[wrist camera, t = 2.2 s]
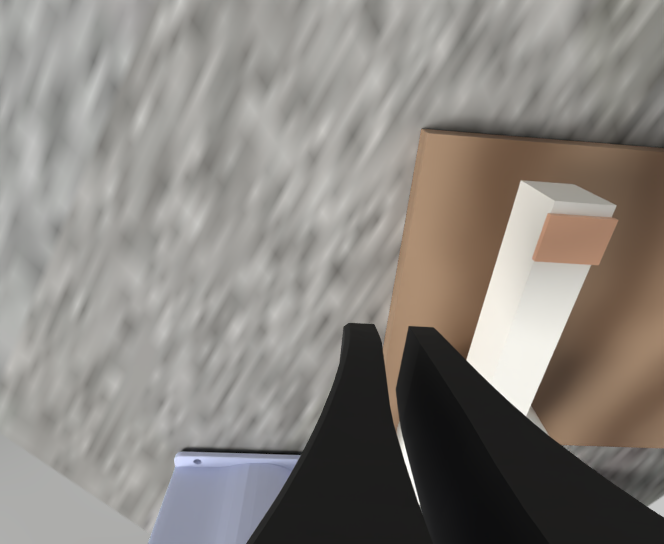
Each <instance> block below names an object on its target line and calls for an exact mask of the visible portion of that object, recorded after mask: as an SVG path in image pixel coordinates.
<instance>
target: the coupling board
mask: <svg viewBox="0 0 664 544" xmlns="http://www.w3.org/2000/svg"><path fill="white" fill-rule="evenodd" d="M521 180H523V181H537V182H551V183H564V184H574V185H576V186H578V187H581V188H583V189H585V190H587V191H589V192H591V193H593V194H595V195H597V196H599V197H601V198H603V199H605V200H607V201H609V202H611V203H613V204H615V205H617V206H616V208H615V211H614V213H613V215H612V218H616V219H618V223H617V225H616V227H615V229H614V232H613V234H612V236H611V239H610V241H609V243H608V245H607V248H606V250H605V252H604V254H603V257H602V259H601V261H600V264H599V265H591V266H590V269H589V271H588V273H587V276H586V278H585V280H584V283H583V285H582V287H581V290H580V292H579V294H578V297H577V299H576V301H575V304H574V306H573V308H572V311H571V313H570V315H569V318H568V320H567V322H566V325H565V327H564V329H563V332H562V334H561V336H560V339H559V341H558V343H557V345H556V348H555V350H554V352H553V355H552V357H551V359H550V362H549V364H548V366H547V369H546V371H545V373H544V376H543V378H542V380H541V383H540V385H539V387H538V390H537V392H536V394H535V397H534V399H533V401H532V404H531V406H532V408H533V410H534V411H535V413H536V415H537V416H538V418H539V420H540V421H541V423H542V425H543V426H544V428H545V430H546V431H547V433H548V434H549V436H550V437H551V438H552V439H554V440H555V441H556V442H558V443H559V444H560V445H579V446H609V447H638V448H664V148H656V147H643V146H631V145H618V144H606V143H593V142H581V141H568V140H556V139H543V138H531V137H519V136H506V135H494V134H481V133H469V132H456V131H444V130H431V129H421V134H420V140H419V146H418V151H417V157H416V163H415V168H414V174H413V180H412V186H411V191H410V197H409V203H408V208H407V214H406V220H405V226H404V231H403V237H402V243H401V248H400V254H399V260H398V266H397V271H396V277H395V283H394V288H393V294H392V300H391V306H390V311H389V317H388V323H387V329H386V334H385V340H384V346H383V355H384V362H385V370H386V378H387V385H388V393H389V401H390V408H391V413H392V418H393V423H394V426H395V430H396V433H397V427H398V424H399V414H398V406H397V398H396V385H397V380H398V375H399V370H400V365H401V361H402V356H403V351H404V346H405V341H406V336H407V331H408V327H409V326H419V327H434V328H435V329H436V330H437V331H438V332H439V333H440V334H441V335H442V336H443V337H444V338H445V339H446V340H447V341H448V342H449V343H450V344H451V345H452V346H453V347H454V348H455V349H456V350H457V351H458V352H459V353H460V354H461V355H462V356H463V357H464V358H465V359H466V360H467V356H468V353H469V350H470V346H471V343H472V340H473V337H474V333H475V330H476V327H477V323H478V320H479V317H480V313H481V310H482V307H483V304H484V300H485V297H486V294H487V290H488V287H489V284H490V281H491V277H492V274H493V271H494V267H495V264H496V261H497V257H498V254H499V251H500V248H501V244H502V241H503V238H504V234H505V231H506V228H507V225H508V221H509V218H510V215H511V211H512V208H513V205H514V201H515V198H516V195H517V192H518V188H519V185H520V182H521Z"/></svg>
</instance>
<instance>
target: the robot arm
mask: <svg viewBox="0 0 664 544" xmlns="http://www.w3.org/2000/svg"><path fill="white" fill-rule="evenodd" d="M396 398H397V406H398V414H399V421H400V428H401V432H402V436H403V441H404V444H405V448H406V452H407V456H408V460H409V464H410V468H411V472H412V475H413V479H414V483H415V487H416V491H417V495H418V498H419V502H420V506H421V509H420V506H419V503H418V500H417V497H416V494H415V491H414V488H413V485H412V482H411V479H410V476H409V473H408V470H407V467H406V464H405V461H404V457H403V454H402V450H401V447H400V443H399V440H398V437H397V433H396V430H395V426H394V423H393V418H392V413H391V408H390V401H389V393H388V385H387V378H386V370H385V362H384V355H383V348H382V342H381V339H380V336H379V334H378V331H377V329H376V327H375V325H374V324H360V323H348V324H347V325H345V326H344V328H343V337H342V346H341V355H340V364H339V367H338V370H337V373H336V377H335V380H334V383H333V386H332V388H331V391H330V393H329V396H328V398H327V401H326V403H325V406H324V408H323V411H322V413H321V416H320V418H319V420H318V422H317V424H316V426H315V429H314V431H313V433H312V435H311V437H310V439H309V441H308V443H307V445H306V447H305V449H304V450H303V452H302V454H301V455H281V454H249V453H216V452H184V451H183V452H179V453H177V454H176V456H175V459H174V462H175V469H174V472H173V475H172V477H171V480H170V483H169V486H168V489H167V492H166V494H165V497H164V500H163V503H162V506H161V508H160V511H159V514H158V517H157V520H156V522H155V525H154V528H153V531H152V534H151V536H150V539H149V542H148V544H664V517H662V516H661V515H659V514H657V513H656V512H654V511H653V510H651V509H649V508H648V507H647V506H645V505H644V504H642V503H641V502H639V501H638V500H636V499H635V498H633V497H632V496H631V495H629V494H628V493H626V492H625V491H623V490H622V489H620V488H619V487H617V486H616V485H614V484H613V483H611V482H610V481H608V480H607V479H606V478H604V477H603V476H602V475H600V474H599V473H597V472H596V471H595V470H593V469H592V468H590V467H589V466H588V465H586V464H585V463H584V462H582V461H581V460H580V459H578V458H577V457H576V456H575V455H573V454H572V453H571V452H569V451H568V450H567V449H565V448H564V447H563V446H562V445H560V444H559V443H558V442H556V441H555V440H554V439H552V438H551V437H550V436H549V435H548V434H546V433H545V432H544V431H543V430H541V429H540V428H539V427H538V426H537V425H535V424H534V423H533V422H532V421H531V420H530V419H528V418H527V417H526V416H525V415H524V414H523V413H522V412H520V411H519V410H518V409H517V408H516V407H515V406H514V405H512V404H511V403H510V402H509V401H508V400H507V399H506V398H505V397H504V396H503V395H502V394H500V393H499V392H498V391H497V390H496V389H495V388H494V387H493V386H492V385H491V384H490V383H489V382H488V381H487V380H486V379H485V378H484V377H483V376H482V375H481V374H480V373H479V372H478V371H477V370H476V369H475V368H474V367H473V366H472V365H471V364H470V363H469V362H468V361H467V360H466V359H465V358H464V357H463V356H462V355H461V354H460V353H459V352H458V351H457V350H456V349H455V348H454V347H453V346H452V345H451V344H450V343H449V342H448V341H447V340H446V339H445V338H444V337H443V336H442V335H441V334H440V333H439V332H438V331H437V330H436V329H435V328H434V327H419V326H409V327H408V331H407V336H406V341H405V346H404V351H403V356H402V361H401V365H400V370H399V375H398V380H397V385H396ZM421 510H422V512H421ZM422 514H423V515H422Z"/></svg>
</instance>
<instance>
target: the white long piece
mask: <svg viewBox="0 0 664 544" xmlns="http://www.w3.org/2000/svg"><path fill="white" fill-rule="evenodd" d="M616 206H617V205H615V204H613V203H611V202H609V201H607V200H605V199H603V198H601V197H599V196H597V195H595V194H593V193H591V192H589V191H587V190H585V189H583V188H581V187H578V186H576V185H574V184H564V183H551V182H537V181H523V180H521V182H520V185H519V188H518V192H517V195H516V198H515V201H514V205H513V208H512V211H511V215H510V218H509V221H508V225H507V228H506V231H505V234H504V238H503V241H502V244H501V248H500V251H499V254H498V257H497V261H496V264H495V267H494V271H493V274H492V277H491V281H490V284H489V287H488V290H487V294H486V297H485V300H484V304H483V307H482V310H481V313H480V317H479V320H478V323H477V327H476V330H475V333H474V337H473V340H472V343H471V346H470V350H469V353H468V356H467V361H468V362H469V363H470V364H471V365H472V366H473V367H474V368H475V369H476V370H477V371H478V372H479V373H480V374H481V375H482V376H483V377H484V378H485V379H486V380H487V381H488V382H489V383H490V384H491V385H492V386H493V387H494V388H495V389H496V390H497V391H498V392H499V393H500V394H502V395H503V396H504V397H505V398H506V399H507V400H508V401H509V402H510V403H511V404H512V405H514V406H515V407H516V408H517V409H518V410H519V411H520V412H522V413H523V414H524V415H525V416H526V417H527V418H528V419H530V420H531V421H532V422H533V423H534V424H535V425H537V426H538V427H539V428H540V429H541V430H543V431H544V432H545V433H546V434H548V433H547V431H546V430H545V428H544V426H543V425H542V423H541V421H540V420H539V418H538V416H537V415H536V413H535V411H534V410H533V408H532V406H531V404H532V401H533V399H534V397H535V394H536V392H537V390H538V387H539V385H540V383H541V380H542V378H543V376H544V373H545V371H546V369H547V366H548V364H549V362H550V359H551V357H552V355H553V352H554V350H555V348H556V345H557V343H558V341H559V339H560V336H561V334H562V332H563V329H564V327H565V325H566V322H567V320H568V318H569V315H570V313H571V311H572V308H573V306H574V304H575V301H576V299H577V297H578V294H579V292H580V290H581V287H582V285H583V283H584V280H585V278H586V276H587V273H588V271H589V269H590V266H591V265H599V264H600V261H601V259H602V257H603V254H604V252H605V250H606V248H607V245H608V243H609V241H610V239H611V236H612V234H613V232H614V229H615V227H616V225H617V223H618V219H616V218H612V215H613V213H614V211H615V208H616ZM548 435H549V434H548ZM397 437H398V440H399V443H400V447H401V450H402V454H403V457H404V461H405V464H406V467H407V470H408V473H409V476H410V479H411V482H412V485H413V488H414V491H415V494H416V497H417V500H418V503H419V505H420V502H419V498H418V495H417V491H416V487H415V483H414V479H413V475H412V472H411V468H410V464H409V460H408V456H407V452H406V448H405V444H404V441H403V436H402V432H401V428H400V421H399V424H398V427H397Z"/></svg>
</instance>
